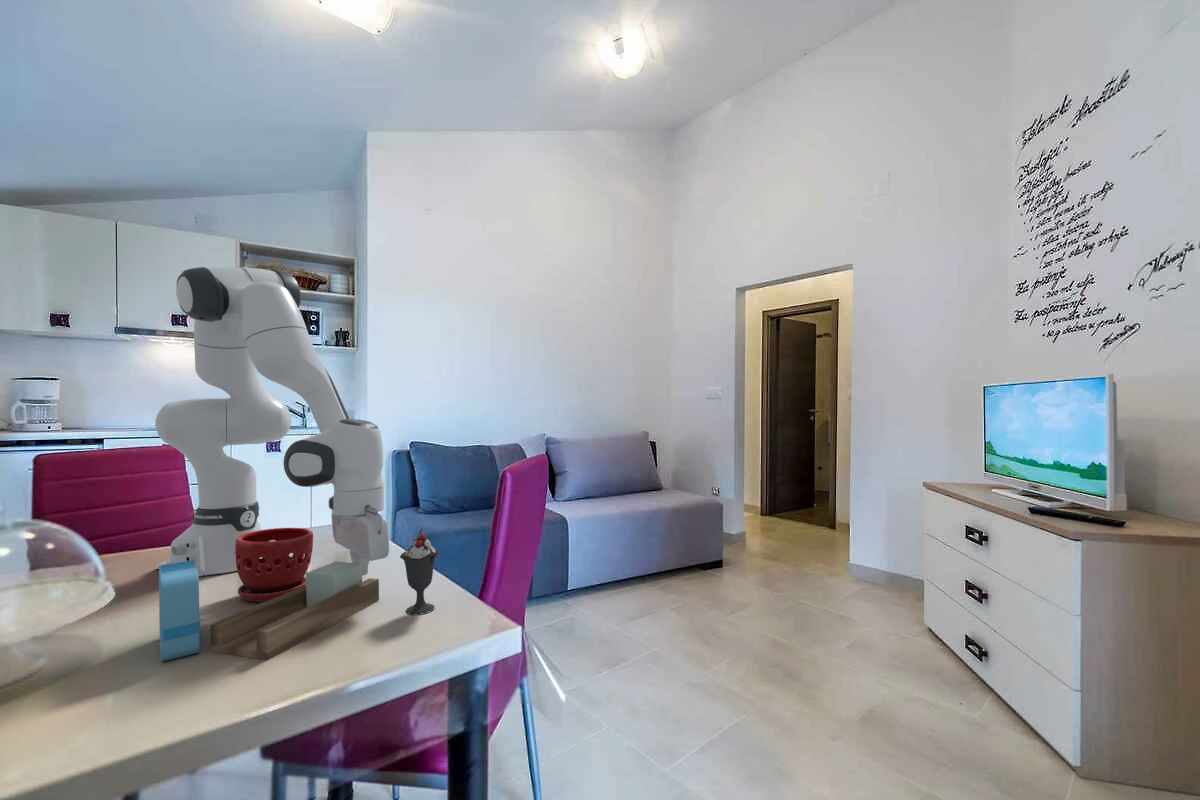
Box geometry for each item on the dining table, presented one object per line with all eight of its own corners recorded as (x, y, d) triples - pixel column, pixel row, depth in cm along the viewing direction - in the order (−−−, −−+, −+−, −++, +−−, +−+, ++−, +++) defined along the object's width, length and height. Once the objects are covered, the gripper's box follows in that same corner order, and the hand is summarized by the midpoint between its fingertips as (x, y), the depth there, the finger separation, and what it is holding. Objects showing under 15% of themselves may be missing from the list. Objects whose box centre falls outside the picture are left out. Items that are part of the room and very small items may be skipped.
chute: (210, 651, 81) (210, 624, 81) (331, 595, 104) (331, 574, 104) (267, 659, 78) (267, 632, 78) (379, 600, 101) (378, 579, 101)
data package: (199, 655, 80) (198, 575, 80) (160, 665, 77) (159, 582, 77) (194, 630, 89) (193, 558, 89) (159, 638, 86) (158, 563, 86)
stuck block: (306, 606, 95) (306, 572, 95) (336, 592, 102) (335, 561, 102) (334, 609, 93) (333, 575, 93) (362, 595, 100) (361, 563, 100)
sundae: (419, 619, 91) (418, 532, 91) (392, 612, 95) (391, 528, 95) (447, 606, 97) (446, 524, 97) (421, 600, 100) (420, 520, 100)
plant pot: (256, 611, 96) (255, 545, 96) (223, 598, 103) (222, 536, 103) (326, 589, 107) (326, 530, 107) (292, 578, 114) (291, 522, 114)
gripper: (397, 507, 98) (398, 582, 98) (357, 494, 113) (358, 559, 113) (362, 512, 94) (363, 590, 94) (325, 498, 109) (326, 566, 109)
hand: (360, 573), depth 104 cm, fingers closed
